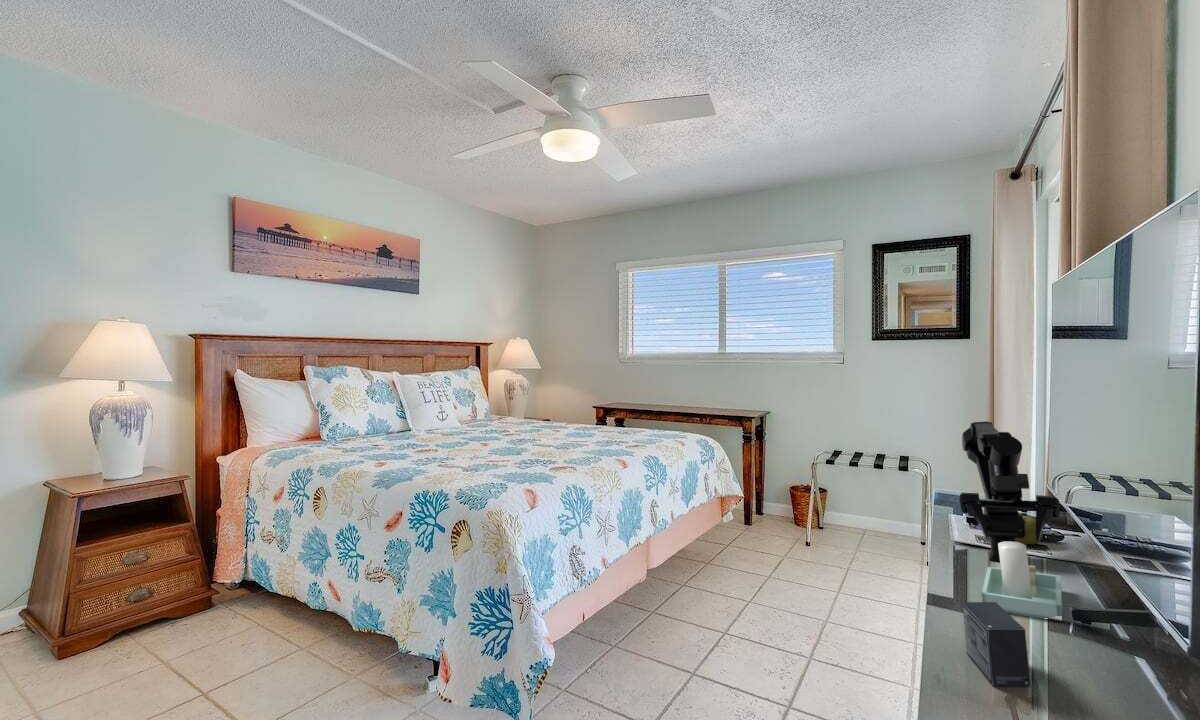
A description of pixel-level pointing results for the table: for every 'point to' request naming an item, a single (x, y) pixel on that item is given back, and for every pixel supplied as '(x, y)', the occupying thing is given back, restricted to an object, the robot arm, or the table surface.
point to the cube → (1033, 580)
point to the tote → (1038, 607)
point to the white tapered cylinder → (1015, 569)
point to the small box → (996, 644)
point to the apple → (1029, 531)
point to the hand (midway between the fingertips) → (1011, 538)
